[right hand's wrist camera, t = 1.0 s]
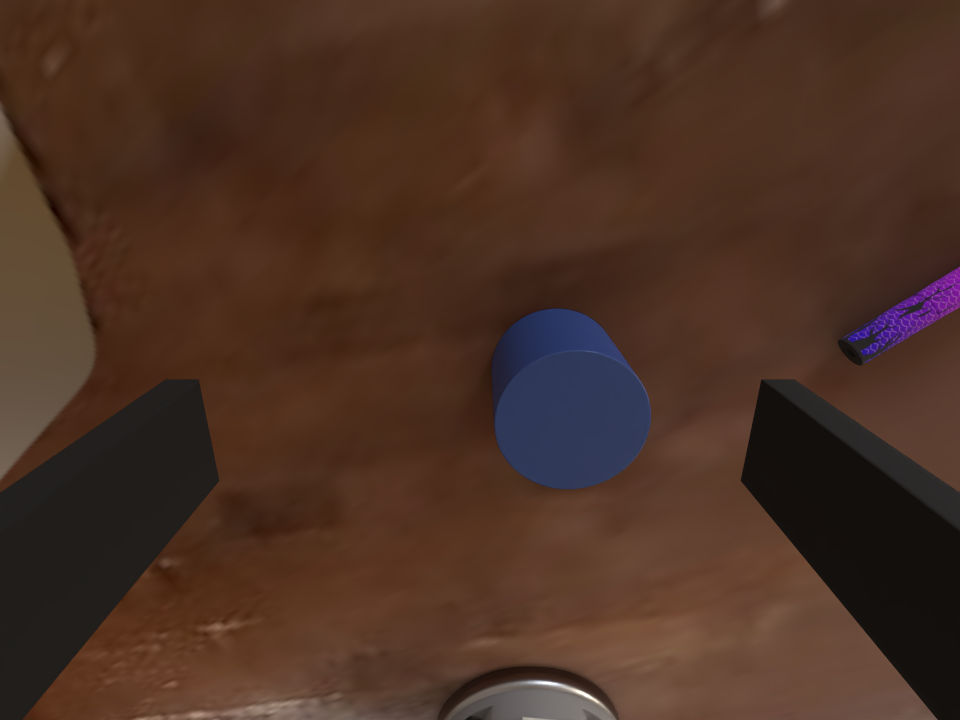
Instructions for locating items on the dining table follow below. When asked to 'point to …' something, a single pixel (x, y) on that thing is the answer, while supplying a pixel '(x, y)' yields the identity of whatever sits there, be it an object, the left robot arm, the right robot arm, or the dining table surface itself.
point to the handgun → (903, 319)
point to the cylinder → (566, 401)
